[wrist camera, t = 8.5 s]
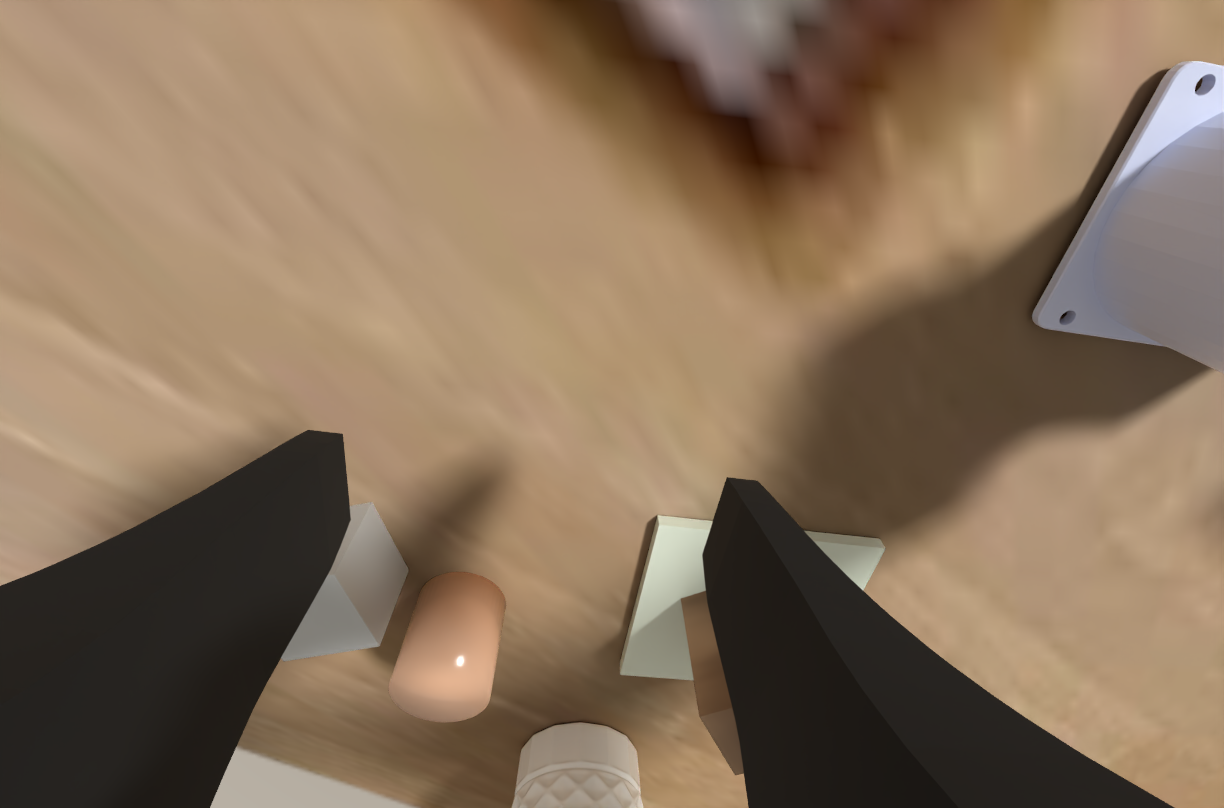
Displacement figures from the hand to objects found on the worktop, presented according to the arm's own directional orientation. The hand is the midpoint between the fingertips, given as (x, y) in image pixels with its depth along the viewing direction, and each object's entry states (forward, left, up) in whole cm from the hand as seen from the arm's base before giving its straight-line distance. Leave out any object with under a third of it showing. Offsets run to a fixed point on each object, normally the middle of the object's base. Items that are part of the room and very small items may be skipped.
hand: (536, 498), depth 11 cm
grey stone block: (+8, +12, -10) cm, 18 cm away
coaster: (-10, +14, -10) cm, 20 cm away
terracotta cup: (+3, +15, -10) cm, 18 cm away
